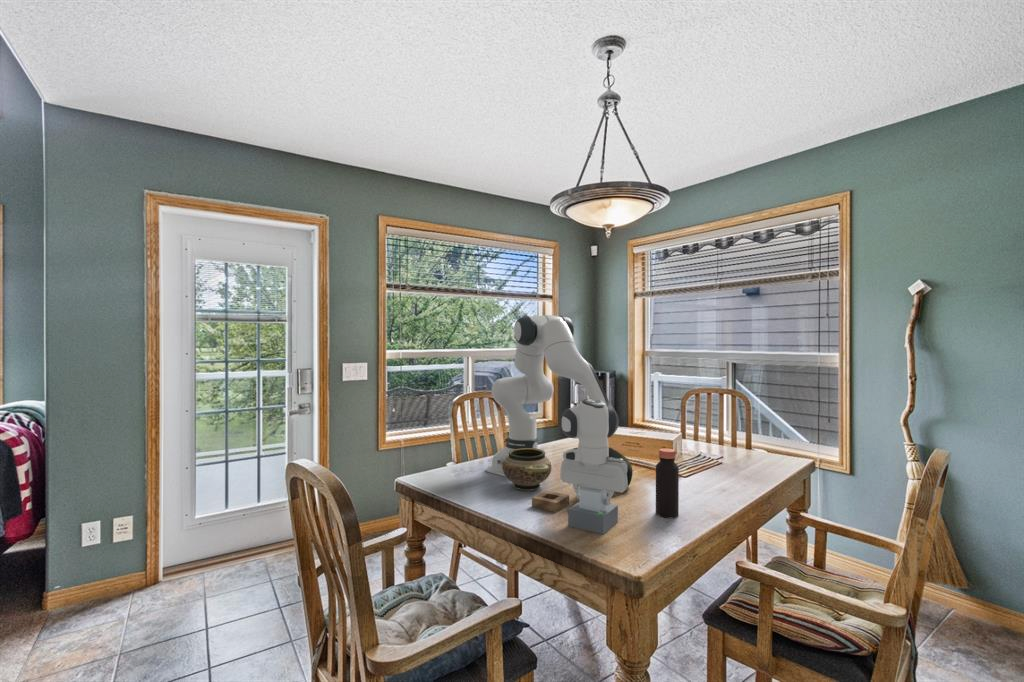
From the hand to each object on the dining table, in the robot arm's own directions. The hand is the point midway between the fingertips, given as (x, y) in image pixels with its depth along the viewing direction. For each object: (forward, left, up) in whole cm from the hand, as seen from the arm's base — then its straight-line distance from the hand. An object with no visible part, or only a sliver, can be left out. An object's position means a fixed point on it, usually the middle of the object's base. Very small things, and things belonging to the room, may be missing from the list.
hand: (593, 501), depth 145 cm
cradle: (-18, +7, -7) cm, 20 cm away
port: (0, 0, -7) cm, 7 cm away
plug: (0, 0, -6) cm, 6 cm away
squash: (-9, +37, -7) cm, 39 cm away
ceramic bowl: (-35, +20, -7) cm, 41 cm away
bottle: (+16, +20, -7) cm, 26 cm away
